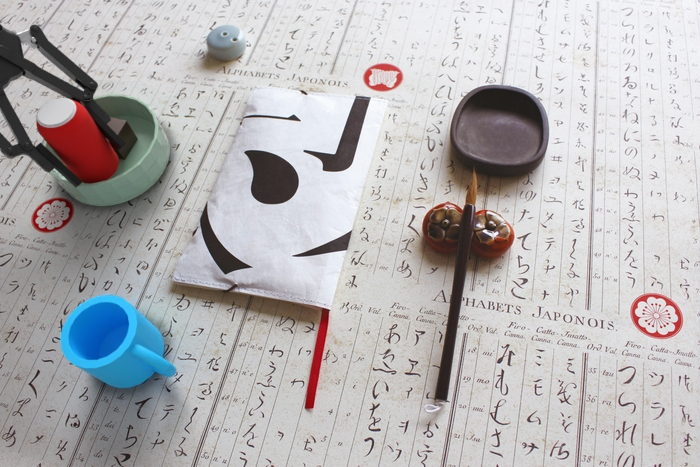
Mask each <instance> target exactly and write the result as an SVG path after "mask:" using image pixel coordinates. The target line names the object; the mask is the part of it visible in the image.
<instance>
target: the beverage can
mask: <svg viewBox="0 0 700 467" xmlns="http://www.w3.org/2000/svg"><path fill="white" fill-rule="evenodd" d="M35 119H36V121H35V123H36V124H35V126H36V129H37V132H38V133H39V135H40V136H41V138H42V139H43V141H44V140H45V141H46V142H47V143H48V145H49V146H50V147H51V148H52V149H53V151H54V152H55V153H56V154H57V155H58V157H59V158H60V159H61V160H62V161H63V163H64V164H65V165H66V166H67V167H68V169H69V170H70V171H72V172H73V173H74V174H75V175H76V176H77V177H78V178H79V179H80V180H81V181H82V183H85V184H92V183H97V182H102V181H106V180H109V179H110V178H111V177H112V176H113V175H114V174H115V173H116V171H117V169H118V166H119V158H118V155H117V154H116V152H115V151H114V149H113V148H112V146H111V145H110V144H109V142H108V141H107V139H106V138H105V136H104V135H103V133H102V132H101V130H100V129H99V127H98V126H97V125H96V123H95V122H94V120H93V119H92V117H91V116H90V114H89V113H88V111H87V110H86V108H85V107H84V106H83V105H81V104H80V103H78V102H76V101H74V100H71V99H68V98H66V97H55V98H53V99H50V100H48V101H45V103H44V104H42V105H41V106H40V107H39V109H38V110H37V112H36V117H35Z"/></svg>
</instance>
